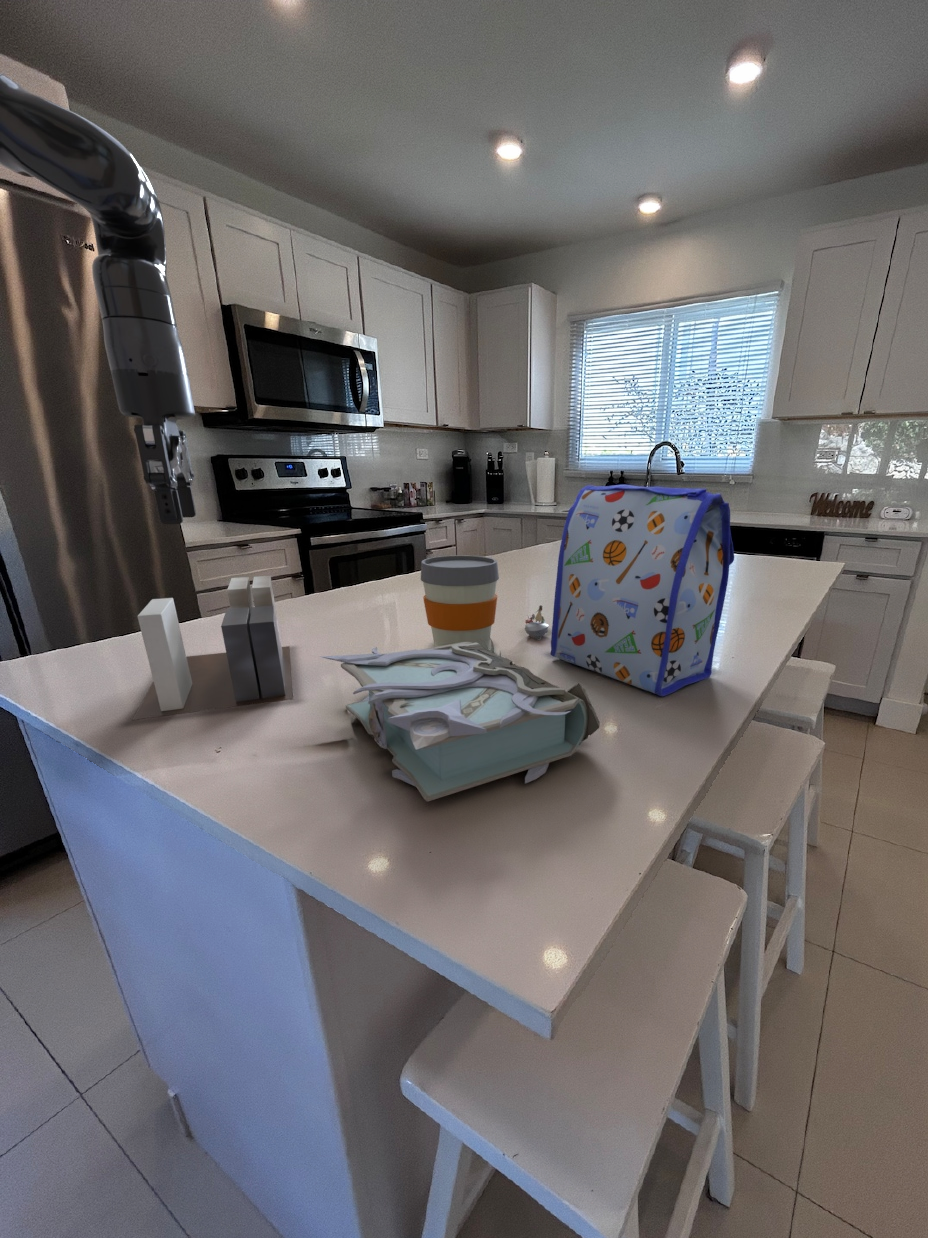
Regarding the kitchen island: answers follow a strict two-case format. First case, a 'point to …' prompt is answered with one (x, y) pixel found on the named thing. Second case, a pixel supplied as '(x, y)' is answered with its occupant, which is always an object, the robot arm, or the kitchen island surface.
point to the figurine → (536, 625)
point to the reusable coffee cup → (460, 598)
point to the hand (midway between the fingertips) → (180, 520)
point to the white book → (165, 653)
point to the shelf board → (210, 687)
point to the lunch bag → (642, 584)
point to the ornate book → (465, 715)
